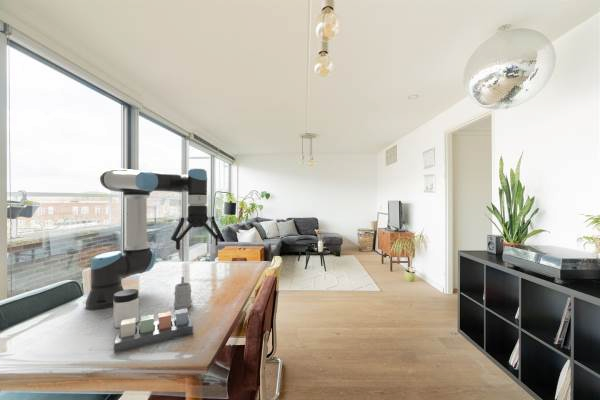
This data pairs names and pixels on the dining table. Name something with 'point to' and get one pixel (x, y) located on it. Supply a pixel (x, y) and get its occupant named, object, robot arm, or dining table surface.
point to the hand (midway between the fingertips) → (197, 255)
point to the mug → (182, 295)
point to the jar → (125, 306)
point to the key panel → (152, 335)
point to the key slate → (181, 316)
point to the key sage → (147, 323)
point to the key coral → (164, 320)
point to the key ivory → (128, 327)
